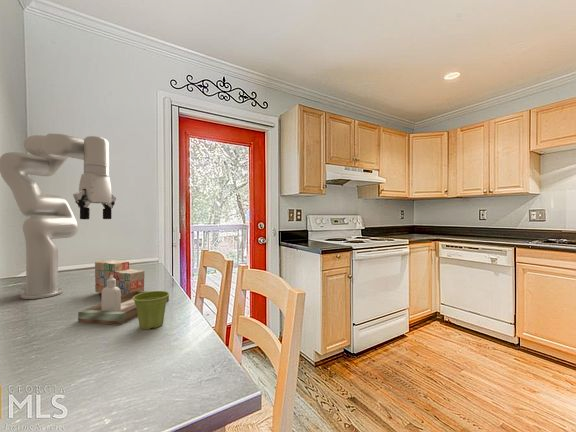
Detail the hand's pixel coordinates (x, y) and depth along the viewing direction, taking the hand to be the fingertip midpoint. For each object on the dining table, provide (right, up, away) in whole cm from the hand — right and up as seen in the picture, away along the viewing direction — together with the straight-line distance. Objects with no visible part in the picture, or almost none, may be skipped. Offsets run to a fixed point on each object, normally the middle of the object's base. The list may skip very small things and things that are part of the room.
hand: (96, 219), depth 101 cm
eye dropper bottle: (+15, -29, -15) cm, 36 cm away
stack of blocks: (+2, -30, +10) cm, 31 cm away
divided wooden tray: (+16, -30, -8) cm, 35 cm away
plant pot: (+30, -30, -21) cm, 48 cm away
